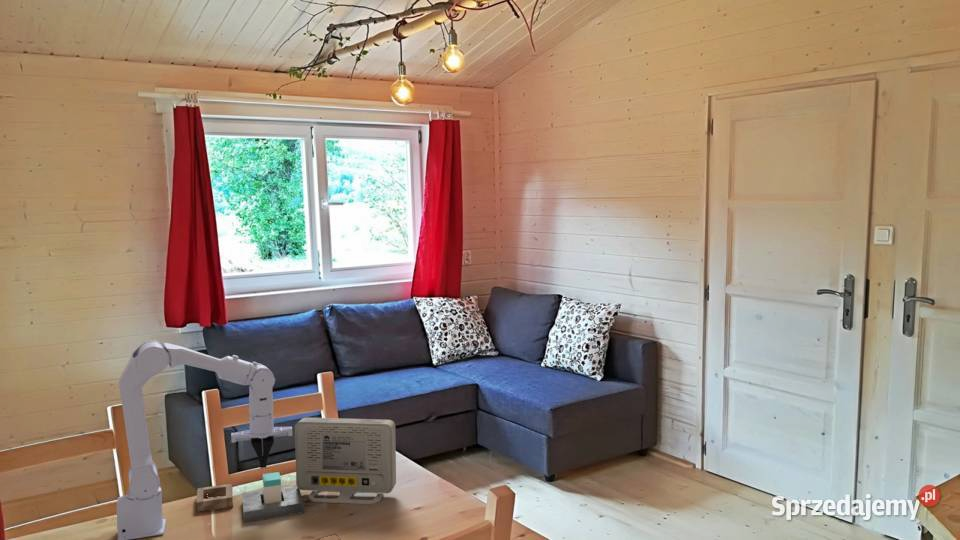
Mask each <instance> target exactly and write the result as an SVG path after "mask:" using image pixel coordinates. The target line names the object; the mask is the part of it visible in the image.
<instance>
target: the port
mask: <svg viewBox="0 0 960 540" xmlns="http://www.w3.org/2000/svg"><path fill="white" fill-rule="evenodd" d="M281 500H282V502H276V503H269V504H264V498H263V490H256V491H248V492H242V493H241V502H242V513H243V515H242V516H243V522H244V523H247V522H254V521H261V520H266V519H273V518H279V517H285V516H292V515H298V514H304V513H305V505H304V503H305V502H304V499H303V496H302V493H301V490H300V489H299V488H298V487H297V485H290V486H289V485H288V486H281Z"/></svg>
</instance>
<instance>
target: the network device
mask: <svg viewBox="0 0 960 540" xmlns="http://www.w3.org/2000/svg"><path fill="white" fill-rule="evenodd" d="M396 445H397V444H396V424H395V422H394V420H391V419H377V418H376V419H374V418H371V419H369V418H368V419H367V418H339V417H337V418H334V417H302V418H301V419H300V420H299V421H298V422H296V424H295V426H294V446H295V481H296V482H295V484H296V485H297V487H298V488H299V489H300V491H311V492H310V493H309V495H308V500H309V501H310V502H313V503H331V504H355V505H356V504H359V505H360V504H361V505H373V504H376V503H379V502H380V501H381V499H382V497H383V496H384V494H390V493H392V491H393V490H394V488H395V486H396V484H397V465H396V464H397V455H396V453H397V450H396ZM319 492H339V495H338V497H335V498H321V497H319V498H318V497H315V496H316V495H317V494H318V493H319ZM355 493H367V494H368V493H369V494H376V496H375V497H374V499H352V497H353V495H354V494H355Z"/></svg>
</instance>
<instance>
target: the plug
mask: <svg viewBox="0 0 960 540" xmlns="http://www.w3.org/2000/svg"><path fill="white" fill-rule="evenodd" d="M281 488H282V479H281V474H280V471H277V472H267V473H263V474H262V489H263V498H264V504H269V503H276V502H283V501H282V500H281Z"/></svg>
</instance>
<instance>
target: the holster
mask: <svg viewBox="0 0 960 540" xmlns="http://www.w3.org/2000/svg"><path fill="white" fill-rule="evenodd" d="M196 489H197V492H196V513H200V511H202V512H207V510H208V511H214V509H215V510H221V509H220V508H222V509H226V508H233V507H234V503H233V501H234V499H233V484H232V483H227V484H218V485H213V486H206V487H198V488H196ZM207 494H208V495H207ZM207 496H208V497H214V498H208V497H207ZM217 496H221V497H217ZM204 498H208V499H204Z"/></svg>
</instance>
